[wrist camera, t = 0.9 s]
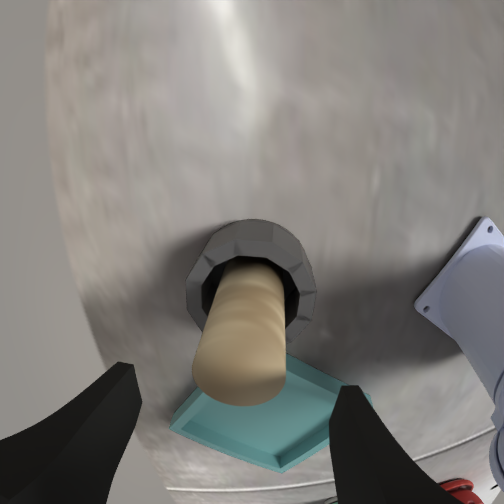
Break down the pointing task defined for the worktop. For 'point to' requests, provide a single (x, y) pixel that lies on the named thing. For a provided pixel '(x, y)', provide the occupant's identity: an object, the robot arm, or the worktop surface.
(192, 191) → the worktop surface
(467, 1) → the worktop surface
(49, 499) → the robot arm
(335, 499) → the spray can
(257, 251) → the dark gray cup
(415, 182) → the worktop surface
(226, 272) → the birch dowel
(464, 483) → the plant pot
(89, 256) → the worktop surface
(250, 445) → the teal tray
